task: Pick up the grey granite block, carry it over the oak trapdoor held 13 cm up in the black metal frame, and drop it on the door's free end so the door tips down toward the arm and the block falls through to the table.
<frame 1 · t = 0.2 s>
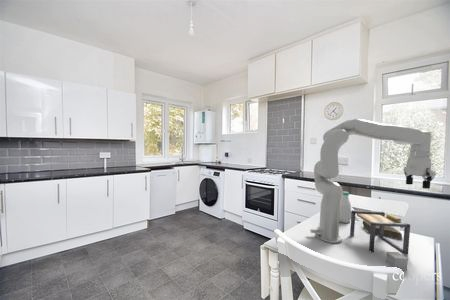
hand: (417, 186, 105), 31 cm above the table, fingers open, 9 cm apart
trapdoor: (380, 218, 104), point 14 cm above the table, hinge at 0.0°
frame: (376, 243, 104), on the table
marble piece: (379, 232, 120), on the table
milk bottle: (343, 221, 134), on the table
granite block: (396, 266, 85), on the table
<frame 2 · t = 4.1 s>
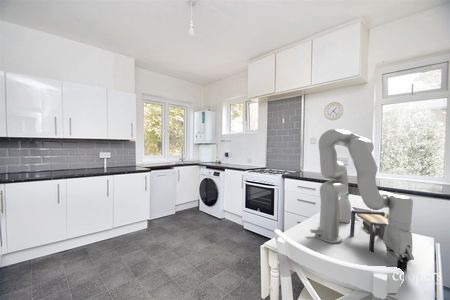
hand: (396, 264, 85), 0 cm above the table, fingers closed on granite block, 5 cm apart
granite block: (396, 266, 85), on the table, touching gripper
everything else where it was.
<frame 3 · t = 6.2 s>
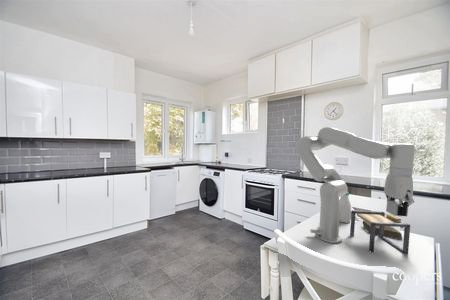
hand: (396, 212, 86), 23 cm above the table, fingers closed on granite block, 5 cm apart
granite block: (396, 213, 86), point 22 cm above the table, touching gripper
everything else where it was.
when the fingers open (17 cm above the table, at t = 8.6 s): granite block drops 13 cm and tips over, point 3 cm above the table.
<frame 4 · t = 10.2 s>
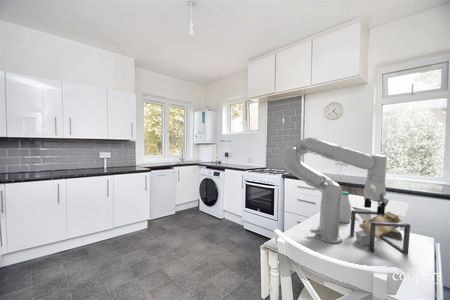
hand: (373, 210, 103), 18 cm above the table, fingers open, 9 cm apart
trapdoor: (380, 223, 104), point 11 cm above the table, hinge at -30.9°
granite block: (368, 237, 104), point 3 cm above the table, tilted 102°
everything else where it was.
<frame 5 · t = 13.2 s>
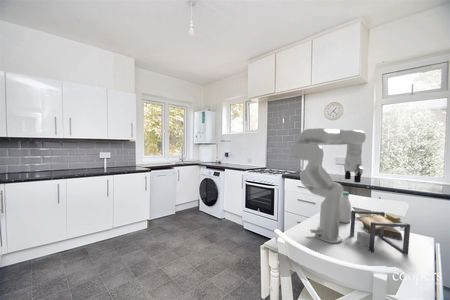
hand: (352, 180, 119), 30 cm above the table, fingers open, 9 cm apart
trapdoor: (379, 219, 104), point 13 cm above the table, hinge at -9.5°
granite block: (369, 239, 104), point 2 cm above the table, tilted 90°
everything else where it was.
at the end: granite block point 2.4 cm above the table; granite block inside the target area (3.5 cm from its centre), point 2.4 cm above the table; the gripper is holding nothing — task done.
